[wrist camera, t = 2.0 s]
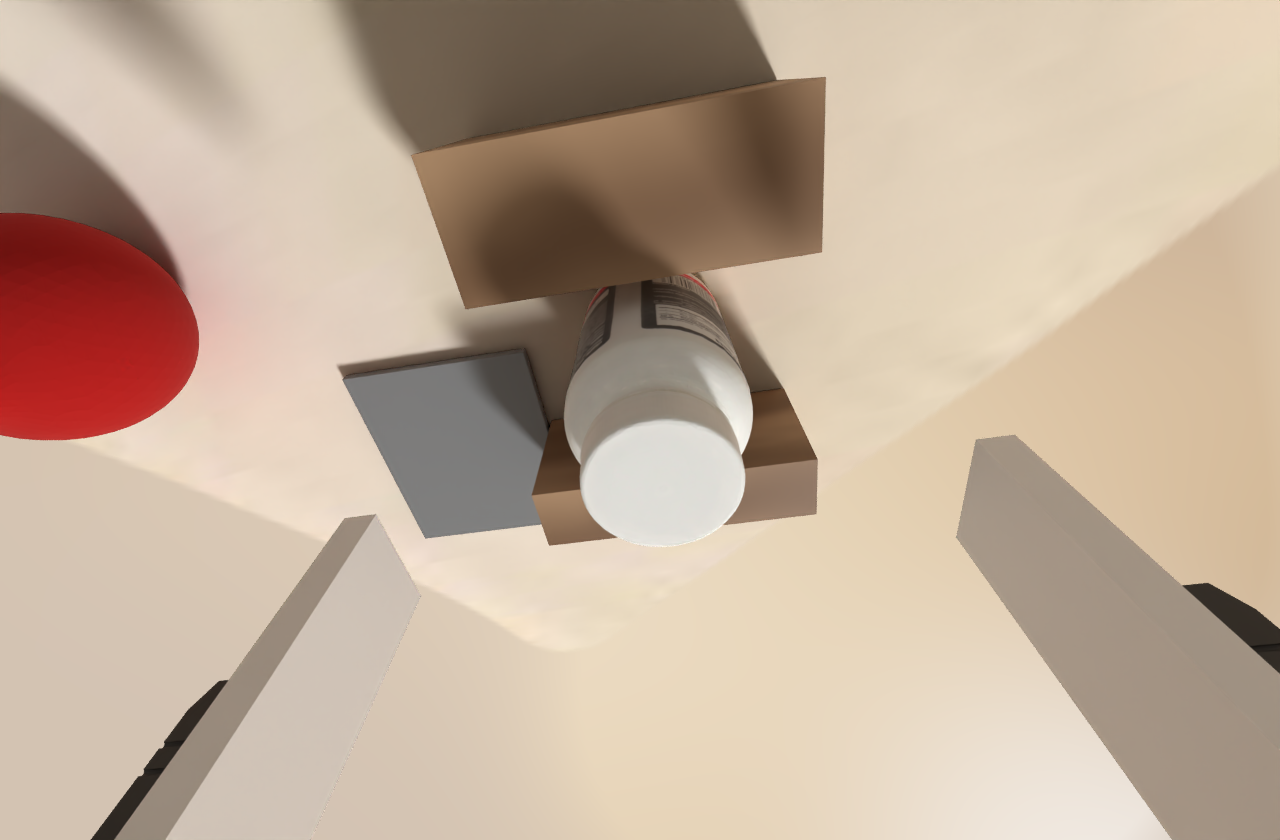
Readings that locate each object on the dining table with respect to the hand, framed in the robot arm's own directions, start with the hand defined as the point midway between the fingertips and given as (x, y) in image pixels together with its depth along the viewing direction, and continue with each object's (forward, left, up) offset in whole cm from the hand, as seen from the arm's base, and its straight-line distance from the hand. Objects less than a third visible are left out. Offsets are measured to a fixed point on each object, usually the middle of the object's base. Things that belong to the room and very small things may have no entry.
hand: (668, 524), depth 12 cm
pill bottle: (0, 0, -11) cm, 11 cm away
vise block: (0, 0, -11) cm, 11 cm away
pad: (+4, -9, -11) cm, 15 cm away
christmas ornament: (-5, -19, -11) cm, 22 cm away
